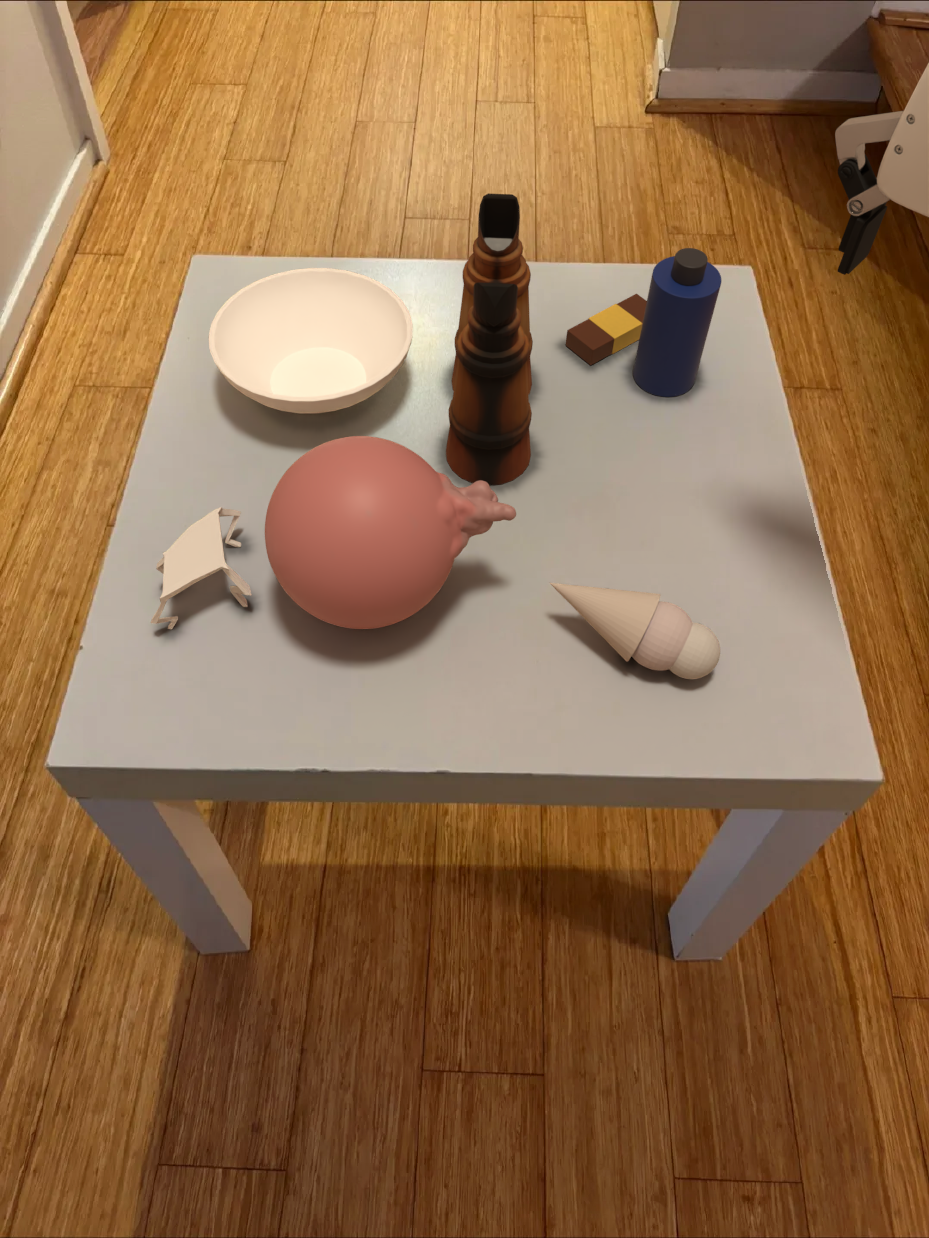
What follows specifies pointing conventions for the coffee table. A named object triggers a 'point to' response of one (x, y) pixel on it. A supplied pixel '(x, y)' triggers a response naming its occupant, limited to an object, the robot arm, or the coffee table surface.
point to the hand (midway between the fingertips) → (918, 295)
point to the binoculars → (493, 353)
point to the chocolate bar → (608, 330)
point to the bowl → (311, 339)
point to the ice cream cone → (646, 629)
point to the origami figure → (198, 560)
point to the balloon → (370, 530)
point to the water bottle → (676, 323)
